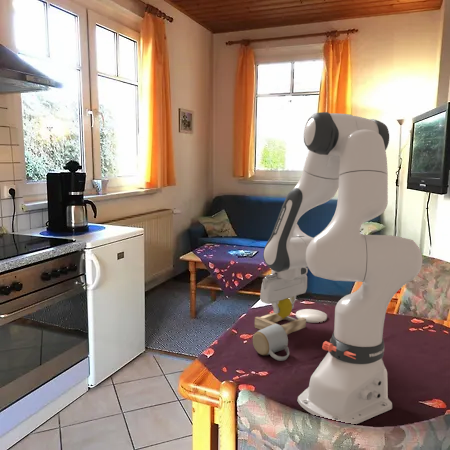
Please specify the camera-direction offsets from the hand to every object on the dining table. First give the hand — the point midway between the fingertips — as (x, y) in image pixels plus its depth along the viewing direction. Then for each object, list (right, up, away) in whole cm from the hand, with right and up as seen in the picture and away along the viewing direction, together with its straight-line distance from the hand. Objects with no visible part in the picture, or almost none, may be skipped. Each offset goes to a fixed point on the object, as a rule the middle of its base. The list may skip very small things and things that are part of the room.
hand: (283, 310), depth 143 cm
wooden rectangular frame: (-1, -6, 0) cm, 6 cm away
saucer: (+11, -4, +10) cm, 15 cm away
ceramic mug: (-6, -9, -19) cm, 22 cm away
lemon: (0, -3, 0) cm, 3 cm away
